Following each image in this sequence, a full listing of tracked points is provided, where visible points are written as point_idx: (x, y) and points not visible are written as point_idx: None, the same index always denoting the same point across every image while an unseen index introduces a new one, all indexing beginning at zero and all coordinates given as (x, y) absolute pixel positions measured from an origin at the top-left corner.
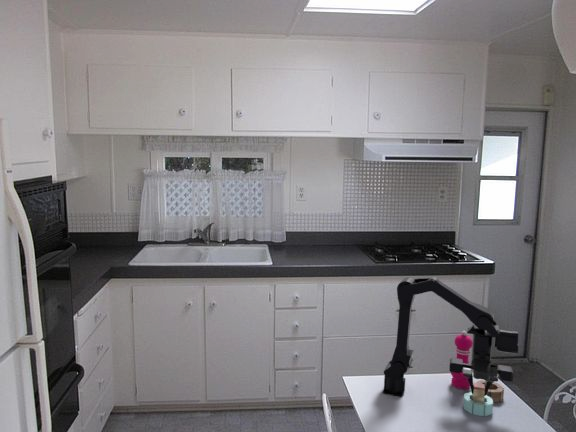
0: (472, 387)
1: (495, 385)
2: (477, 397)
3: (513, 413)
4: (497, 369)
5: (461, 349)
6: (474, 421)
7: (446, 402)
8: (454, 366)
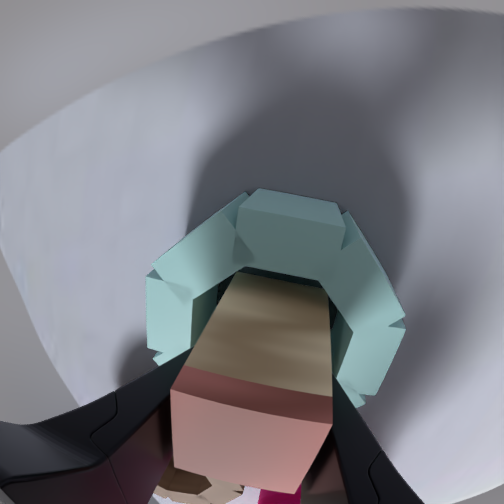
0: (341, 423)
1: None
2: (286, 321)
3: (72, 271)
4: None
5: None
6: (348, 92)
7: (465, 340)
8: None
